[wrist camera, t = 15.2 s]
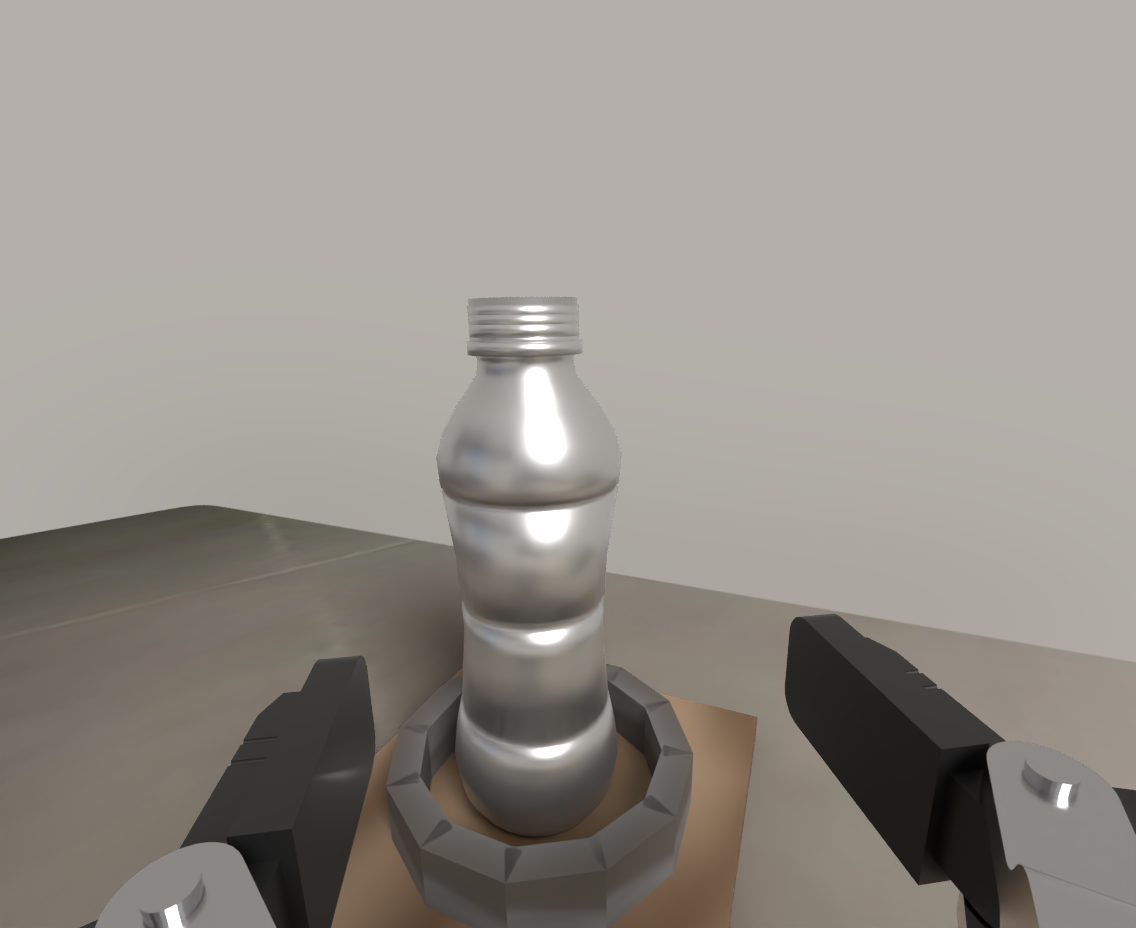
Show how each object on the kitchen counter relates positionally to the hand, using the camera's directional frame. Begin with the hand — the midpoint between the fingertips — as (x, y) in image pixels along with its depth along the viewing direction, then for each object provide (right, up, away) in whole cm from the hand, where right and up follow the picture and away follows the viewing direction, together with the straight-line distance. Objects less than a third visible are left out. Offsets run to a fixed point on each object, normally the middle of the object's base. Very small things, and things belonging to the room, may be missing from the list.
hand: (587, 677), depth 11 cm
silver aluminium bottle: (-2, -10, +13) cm, 17 cm away
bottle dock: (-1, -11, +14) cm, 17 cm away
